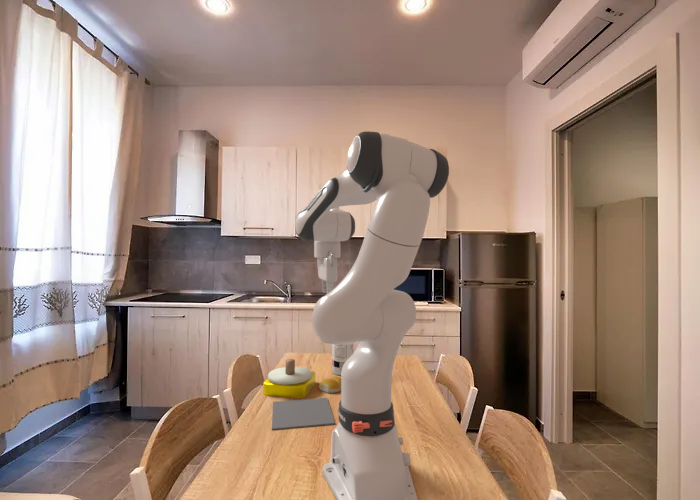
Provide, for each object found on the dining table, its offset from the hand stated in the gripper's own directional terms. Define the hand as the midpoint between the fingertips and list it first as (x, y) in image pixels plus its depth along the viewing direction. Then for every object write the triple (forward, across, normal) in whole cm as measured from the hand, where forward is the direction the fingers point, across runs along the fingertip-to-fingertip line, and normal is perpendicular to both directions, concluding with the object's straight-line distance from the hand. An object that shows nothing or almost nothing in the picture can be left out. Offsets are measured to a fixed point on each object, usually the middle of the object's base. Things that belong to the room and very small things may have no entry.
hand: (327, 293), depth 115 cm
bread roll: (+34, +6, -3) cm, 35 cm away
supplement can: (+34, +21, -9) cm, 41 cm away
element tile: (+34, +9, +12) cm, 37 cm away
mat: (+34, -11, +9) cm, 37 cm away
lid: (+29, +8, +12) cm, 32 cm away
